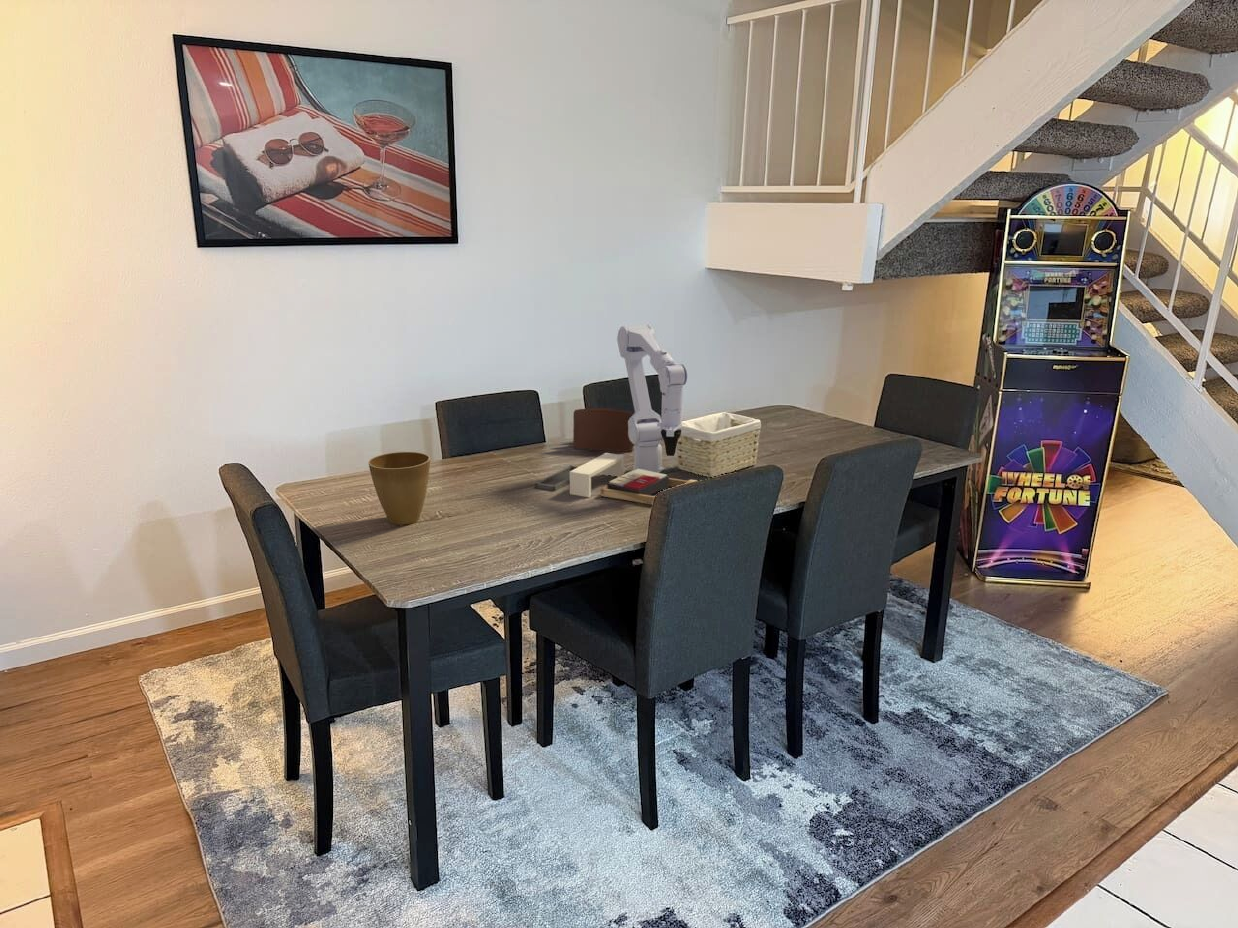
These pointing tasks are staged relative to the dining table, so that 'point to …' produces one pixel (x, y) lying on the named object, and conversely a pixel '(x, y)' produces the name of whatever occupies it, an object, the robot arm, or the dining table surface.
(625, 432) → the letter holder
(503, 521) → the dining table surface
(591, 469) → the tunnel
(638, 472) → the calculator
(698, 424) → the storage basket
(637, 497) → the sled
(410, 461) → the plant pot
